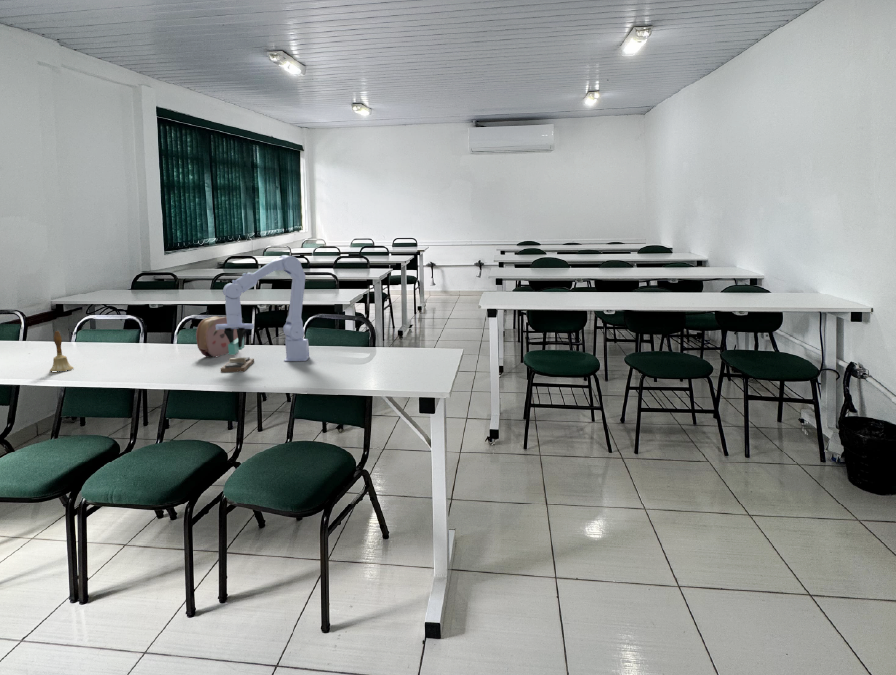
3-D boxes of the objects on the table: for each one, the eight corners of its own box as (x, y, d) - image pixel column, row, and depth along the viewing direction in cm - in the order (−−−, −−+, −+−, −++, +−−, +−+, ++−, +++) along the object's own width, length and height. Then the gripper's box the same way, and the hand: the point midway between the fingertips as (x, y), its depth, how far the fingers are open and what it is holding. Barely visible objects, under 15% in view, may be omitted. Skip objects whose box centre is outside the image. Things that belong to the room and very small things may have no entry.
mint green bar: (238, 347, 248) (237, 337, 247) (244, 347, 248) (243, 337, 247) (228, 354, 234) (228, 344, 233) (235, 354, 234) (234, 344, 233)
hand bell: (51, 369, 241) (46, 330, 238) (75, 366, 244) (70, 328, 241) (47, 373, 234) (41, 333, 231) (71, 371, 237) (66, 332, 234)
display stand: (232, 362, 249) (231, 354, 249) (254, 361, 250) (253, 353, 249) (220, 372, 234) (220, 363, 233) (244, 371, 234) (243, 362, 234)
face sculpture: (209, 359, 255) (206, 321, 252) (196, 358, 257) (193, 320, 254) (240, 350, 273) (237, 314, 270) (227, 349, 276) (224, 313, 272)
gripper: (212, 315, 233) (215, 349, 236) (249, 314, 234) (252, 348, 237) (217, 312, 240) (220, 345, 243) (254, 311, 241) (256, 344, 244)
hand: (236, 346), depth 240 cm, fingers closed on mint green bar, 2 cm apart
